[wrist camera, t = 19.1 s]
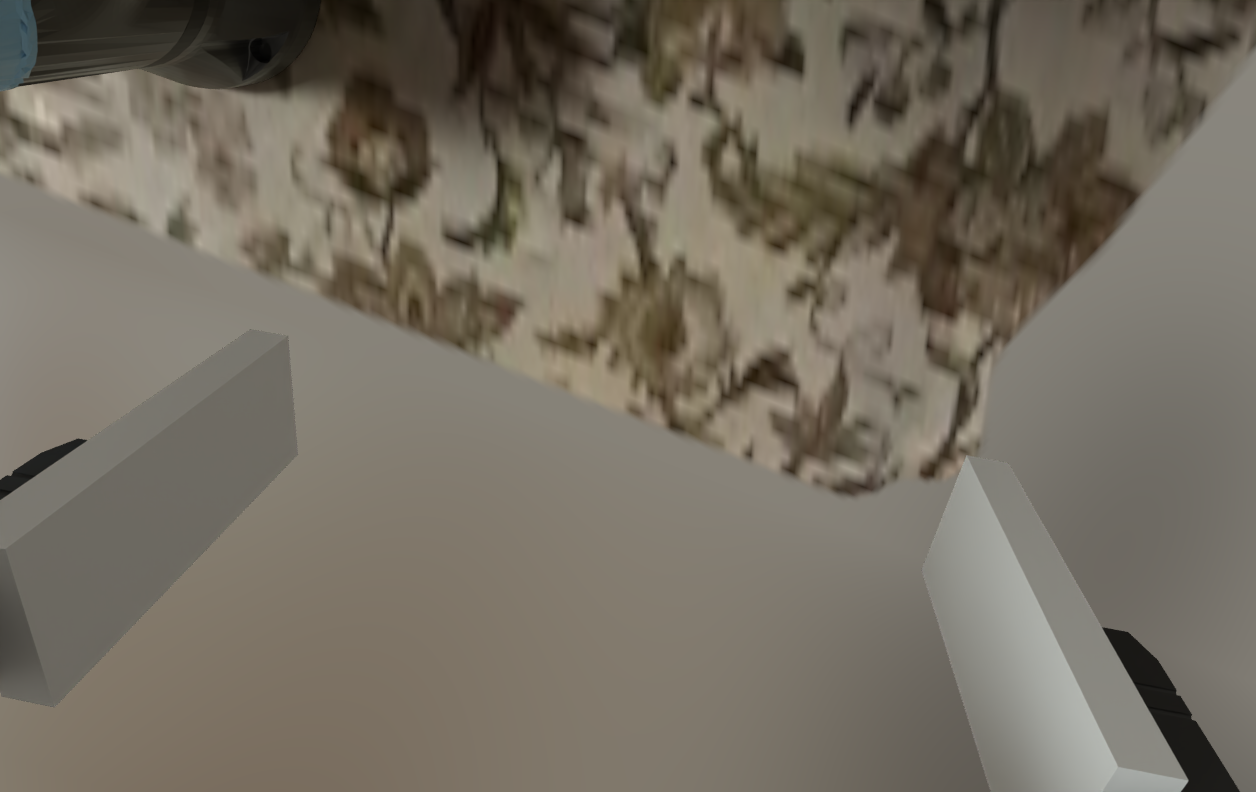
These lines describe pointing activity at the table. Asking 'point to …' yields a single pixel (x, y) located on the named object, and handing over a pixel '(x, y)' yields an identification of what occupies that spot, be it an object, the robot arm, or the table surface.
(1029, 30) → the table surface
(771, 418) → the table surface
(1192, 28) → the table surface
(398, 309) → the table surface
